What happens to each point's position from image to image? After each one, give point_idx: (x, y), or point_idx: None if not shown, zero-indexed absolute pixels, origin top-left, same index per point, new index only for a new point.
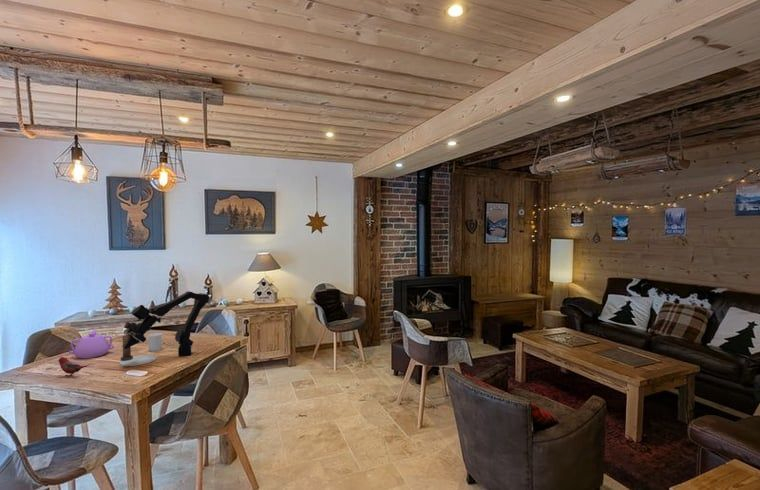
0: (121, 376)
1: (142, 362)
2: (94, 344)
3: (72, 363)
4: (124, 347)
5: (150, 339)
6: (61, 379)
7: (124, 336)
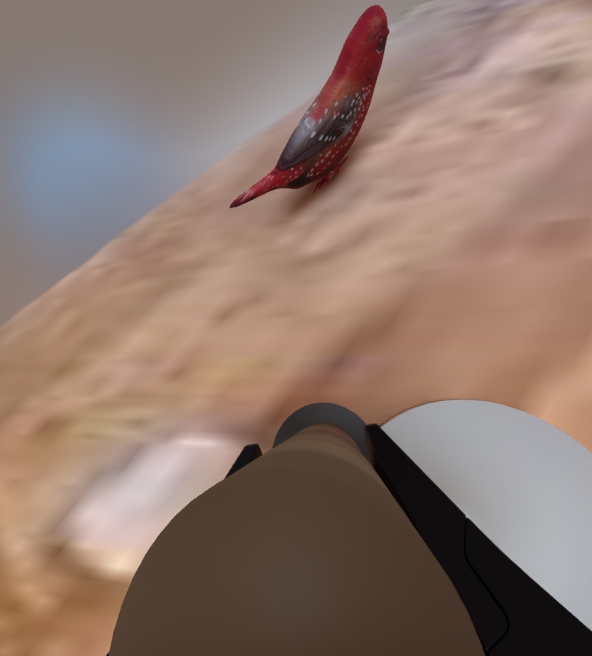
0: (148, 404)
1: None
2: None
3: (306, 114)
4: (241, 454)
5: None
6: None
7: (212, 558)
